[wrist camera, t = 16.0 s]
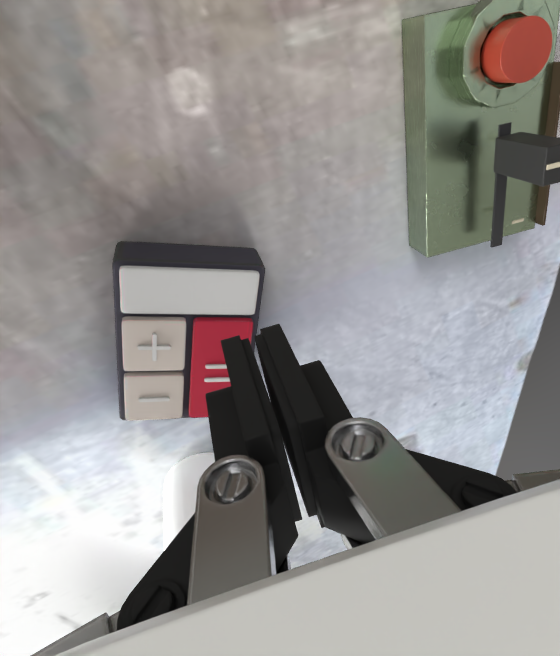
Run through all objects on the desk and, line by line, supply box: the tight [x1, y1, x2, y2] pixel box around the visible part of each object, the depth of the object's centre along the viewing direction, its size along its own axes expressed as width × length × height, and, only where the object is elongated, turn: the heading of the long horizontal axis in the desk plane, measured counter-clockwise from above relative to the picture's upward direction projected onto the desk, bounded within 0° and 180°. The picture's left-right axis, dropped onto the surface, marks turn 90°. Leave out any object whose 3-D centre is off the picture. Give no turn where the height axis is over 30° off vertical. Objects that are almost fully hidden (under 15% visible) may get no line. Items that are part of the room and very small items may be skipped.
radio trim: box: [491, 62, 560, 247], centre depth 35 cm, size 6×12×4 cm, turn 10°
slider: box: [494, 132, 560, 186], centre depth 30 cm, size 2×2×5 cm
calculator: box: [113, 241, 265, 421], centre depth 38 cm, size 11×4×15 cm
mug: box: [163, 452, 215, 551], centre depth 45 cm, size 12×8×10 cm
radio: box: [402, 0, 560, 258], centre depth 35 cm, size 10×17×5 cm, turn 10°
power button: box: [481, 16, 552, 83], centre depth 29 cm, size 4×4×2 cm
